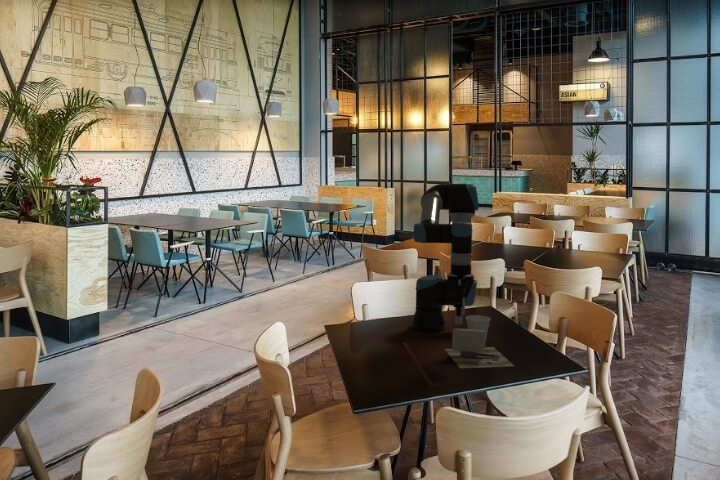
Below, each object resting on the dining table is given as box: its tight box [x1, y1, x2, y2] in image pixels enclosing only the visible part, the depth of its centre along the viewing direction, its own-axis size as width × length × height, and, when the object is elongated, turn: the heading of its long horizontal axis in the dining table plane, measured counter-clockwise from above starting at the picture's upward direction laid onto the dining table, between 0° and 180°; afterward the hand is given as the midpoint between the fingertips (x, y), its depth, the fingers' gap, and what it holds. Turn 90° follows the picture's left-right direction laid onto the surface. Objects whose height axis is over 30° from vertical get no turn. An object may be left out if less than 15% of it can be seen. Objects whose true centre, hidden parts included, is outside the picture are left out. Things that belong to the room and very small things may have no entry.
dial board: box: [444, 346, 515, 369], centre depth 222 cm, size 22×20×1 cm
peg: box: [451, 327, 494, 358], centre depth 222 cm, size 15×6×10 cm, turn 74°
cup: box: [465, 314, 492, 343], centre depth 241 cm, size 10×10×11 cm
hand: (459, 318), depth 223 cm, fingers open, 13 cm apart
